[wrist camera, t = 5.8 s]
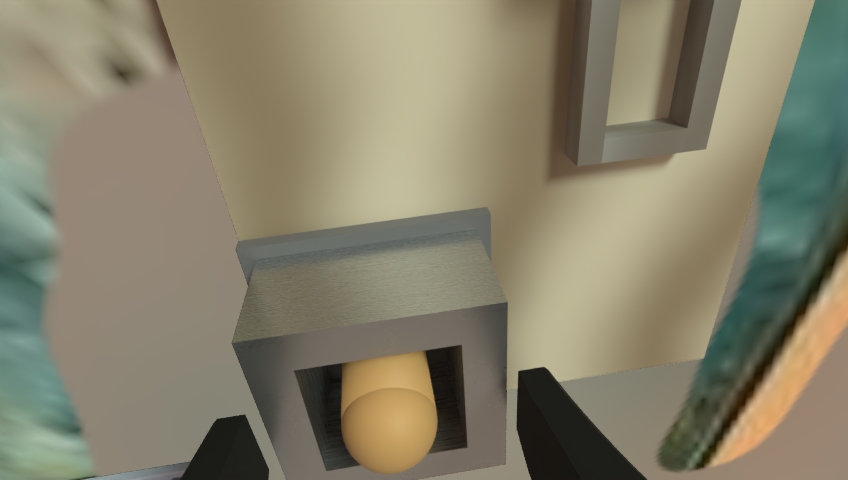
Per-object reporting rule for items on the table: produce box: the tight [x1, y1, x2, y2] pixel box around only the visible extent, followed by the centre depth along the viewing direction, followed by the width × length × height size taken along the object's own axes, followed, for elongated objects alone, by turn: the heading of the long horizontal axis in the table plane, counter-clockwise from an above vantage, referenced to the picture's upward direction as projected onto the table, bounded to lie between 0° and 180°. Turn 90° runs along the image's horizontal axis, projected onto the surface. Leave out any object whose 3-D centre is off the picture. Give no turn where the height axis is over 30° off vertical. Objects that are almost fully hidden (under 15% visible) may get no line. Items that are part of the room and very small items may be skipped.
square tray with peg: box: [236, 207, 491, 474], centre depth 12 cm, size 6×6×5 cm
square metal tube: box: [232, 229, 508, 480], centre depth 13 cm, size 6×6×3 cm
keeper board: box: [156, 0, 815, 390], centre depth 11 cm, size 14×18×3 cm
